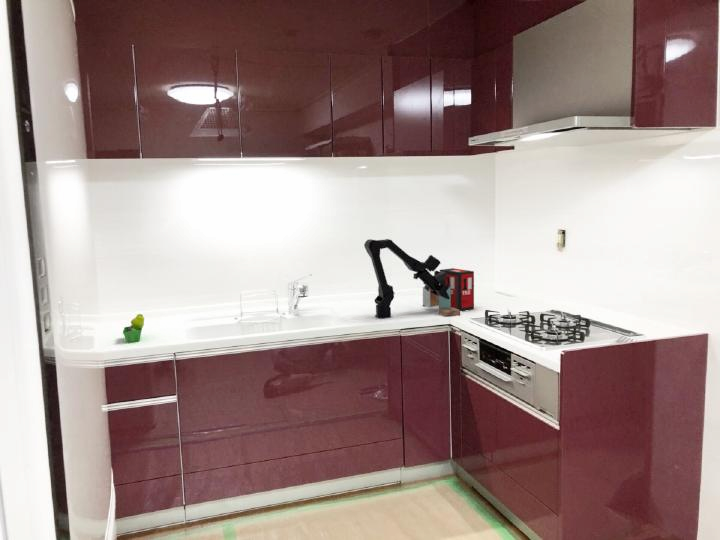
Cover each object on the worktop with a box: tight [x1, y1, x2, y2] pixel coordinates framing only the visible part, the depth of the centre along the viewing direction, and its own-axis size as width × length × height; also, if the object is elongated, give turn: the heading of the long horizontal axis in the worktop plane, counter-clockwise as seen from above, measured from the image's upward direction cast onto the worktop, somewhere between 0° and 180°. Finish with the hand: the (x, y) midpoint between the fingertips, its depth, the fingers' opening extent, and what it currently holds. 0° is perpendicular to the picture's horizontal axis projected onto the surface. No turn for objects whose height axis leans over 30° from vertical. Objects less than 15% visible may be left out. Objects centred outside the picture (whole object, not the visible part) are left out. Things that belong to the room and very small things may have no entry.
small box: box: [422, 286, 439, 308], centre depth 317 cm, size 8×6×10 cm
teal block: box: [438, 287, 451, 309], centre depth 302 cm, size 4×4×12 cm
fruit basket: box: [122, 313, 145, 344], centre depth 259 cm, size 11×9×11 cm
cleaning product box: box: [439, 267, 475, 312], centre depth 308 cm, size 16×9×20 cm, turn 32°
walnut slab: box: [437, 308, 461, 318], centre depth 294 cm, size 8×8×2 cm
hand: (447, 297), depth 303 cm, fingers closed on teal block, 4 cm apart
